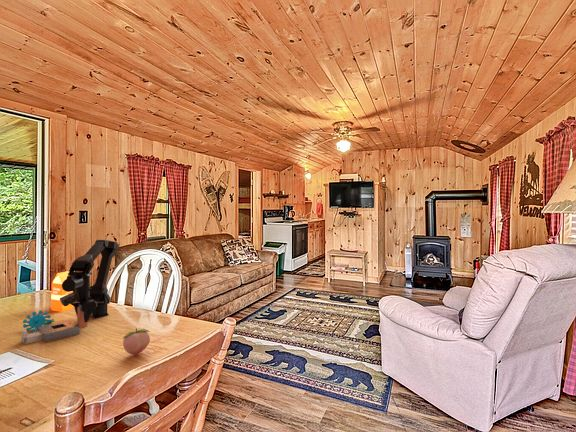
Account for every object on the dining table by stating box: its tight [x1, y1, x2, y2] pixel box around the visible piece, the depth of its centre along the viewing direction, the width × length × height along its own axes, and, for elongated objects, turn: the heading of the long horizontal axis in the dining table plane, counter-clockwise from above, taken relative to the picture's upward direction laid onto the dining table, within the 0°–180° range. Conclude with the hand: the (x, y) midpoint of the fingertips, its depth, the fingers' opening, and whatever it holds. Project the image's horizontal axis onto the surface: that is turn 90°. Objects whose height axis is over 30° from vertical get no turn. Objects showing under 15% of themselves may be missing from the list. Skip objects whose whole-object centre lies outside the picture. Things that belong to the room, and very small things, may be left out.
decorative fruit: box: [122, 328, 151, 356], centre depth 119 cm, size 9×8×10 cm
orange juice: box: [50, 270, 74, 313], centre depth 169 cm, size 8×9×20 cm
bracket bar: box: [21, 328, 43, 346], centre depth 128 cm, size 6×4×5 cm, turn 141°
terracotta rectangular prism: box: [76, 307, 88, 329], centre depth 145 cm, size 3×3×9 cm
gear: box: [22, 310, 55, 333], centre depth 142 cm, size 11×6×10 cm
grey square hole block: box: [36, 319, 80, 343], centre depth 136 cm, size 12×12×4 cm
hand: (82, 319), depth 145 cm, fingers open, 9 cm apart
